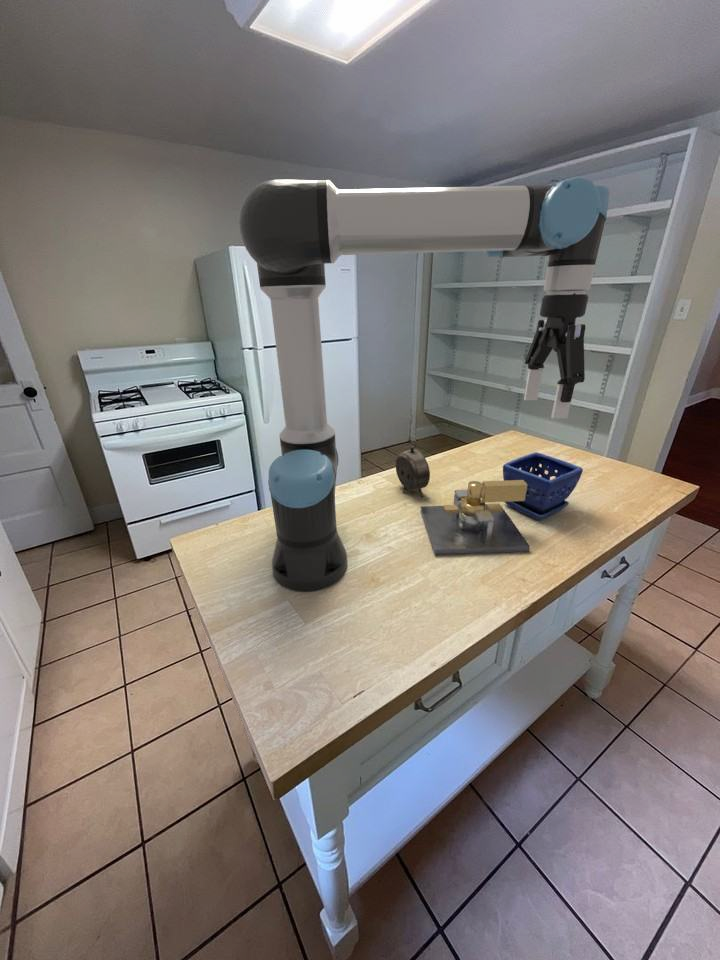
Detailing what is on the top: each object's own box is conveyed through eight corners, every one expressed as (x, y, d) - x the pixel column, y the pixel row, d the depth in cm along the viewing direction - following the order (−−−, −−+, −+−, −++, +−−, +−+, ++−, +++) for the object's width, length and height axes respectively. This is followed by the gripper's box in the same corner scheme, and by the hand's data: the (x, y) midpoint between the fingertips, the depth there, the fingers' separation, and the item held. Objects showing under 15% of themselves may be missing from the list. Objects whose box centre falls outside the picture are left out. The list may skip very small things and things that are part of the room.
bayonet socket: (434, 555, 81) (436, 526, 77) (420, 511, 97) (421, 486, 94) (528, 552, 81) (534, 523, 78) (498, 508, 97) (502, 483, 94)
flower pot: (541, 528, 89) (551, 482, 84) (495, 504, 99) (501, 462, 94) (574, 511, 95) (585, 467, 90) (527, 490, 105) (535, 450, 100)
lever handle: (446, 517, 84) (449, 490, 81) (441, 505, 89) (443, 479, 86) (525, 514, 84) (530, 487, 81) (515, 503, 89) (520, 477, 86)
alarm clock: (429, 497, 103) (433, 441, 96) (413, 502, 101) (415, 444, 94) (407, 481, 112) (409, 429, 105) (391, 486, 110) (392, 432, 103)
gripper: (630, 292, 58) (595, 427, 67) (555, 292, 80) (537, 393, 90) (580, 294, 58) (552, 427, 67) (519, 293, 80) (505, 394, 90)
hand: (543, 408), depth 79 cm, fingers open, 13 cm apart
